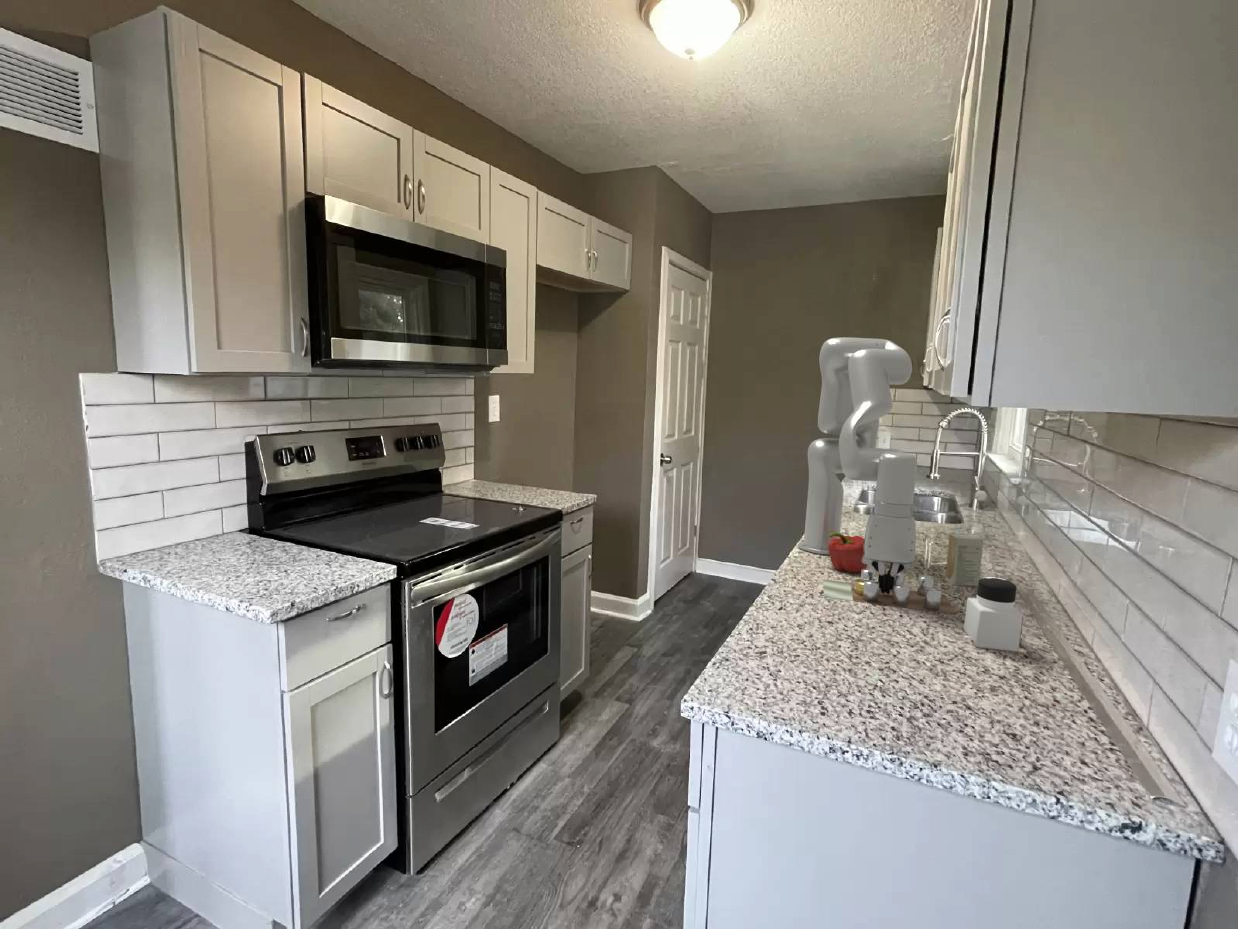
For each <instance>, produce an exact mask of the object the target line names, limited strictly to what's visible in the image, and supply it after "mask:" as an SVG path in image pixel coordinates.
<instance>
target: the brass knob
mask: <svg viewBox="0 0 1238 929" xmlns="http://www.w3.org/2000/svg"><path fill="white" fill-rule="evenodd" d="M864 581H865V579H861V578H859V579H855V580H854V583H855V589H854V592H855V593H856V594H858V595H860V596H863V589H864Z"/></svg>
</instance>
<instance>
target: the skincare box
mask: <svg viewBox="0 0 1238 929" xmlns="http://www.w3.org/2000/svg"><path fill="white" fill-rule="evenodd" d="M948 537H949V538H948V546H947V556H946V567H945V569H946V570H945V578H944V579H945V580H946V581H947V582H948V583H949V584H951V585H953V586H956V585H958V586H966V587H968V586H969V587H977V588H978V581H979V580H980V579H981V577H980V576H981V570H982V569H981V568H982V566H981V565H982V556H983V547H984V546H983V545H984V538H982V537H980V536H978V535H977V534H961V533H960V534H958V533H949V536H948Z"/></svg>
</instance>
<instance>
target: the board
mask: <svg viewBox="0 0 1238 929" xmlns="http://www.w3.org/2000/svg"><path fill="white" fill-rule="evenodd" d="M822 581H823V584H822V585H823V597H824V598H829V599H836V600H843V601H844V600H845V601H848V602H849V601H851V602H858V603H865V604H873V605H880V606H887V607H894V608H895V607H896V608H901V609H910V610H917V611H925V612H932V613H939V614H947V615H952V616H953V615H954V616H958V614H957V612H956V610H955V609H954V608H953V606H952V604H951V602H950V600H949V598H948V597H947V595H946V594H942V593H941V600H940V609H939V611H931V610H927V609H925V608H924V607H923V606H924V597H923V596H920V595H918V594H917V591H918V590H911V589H910V592H909V601H908V606H907V607H901V606H897V605H894V604H893V594H894V593H893V592H890V594H887V593H886V592H885V593H881V590H880V588H879V591H878V601H877V602H875V603H872V602H867V601H864V600H863V596H860V595H858V594H856V593H855V592H854V589H855V582H847V581H840V580H832V579H823V580H822Z"/></svg>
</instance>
